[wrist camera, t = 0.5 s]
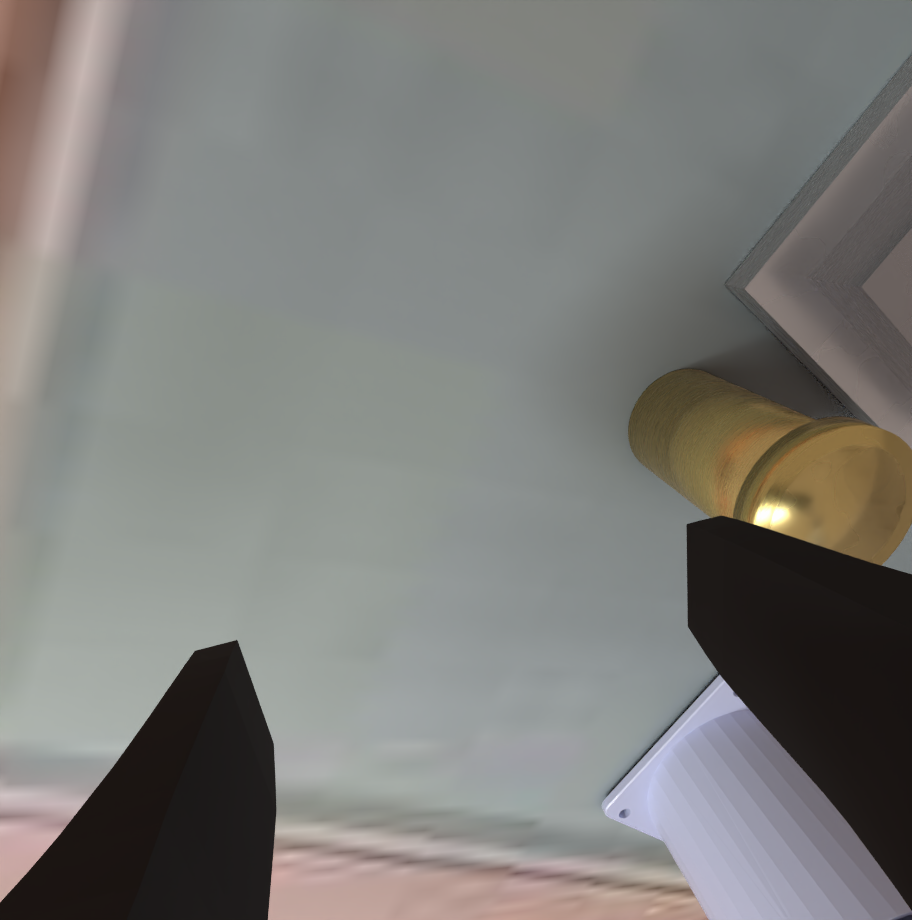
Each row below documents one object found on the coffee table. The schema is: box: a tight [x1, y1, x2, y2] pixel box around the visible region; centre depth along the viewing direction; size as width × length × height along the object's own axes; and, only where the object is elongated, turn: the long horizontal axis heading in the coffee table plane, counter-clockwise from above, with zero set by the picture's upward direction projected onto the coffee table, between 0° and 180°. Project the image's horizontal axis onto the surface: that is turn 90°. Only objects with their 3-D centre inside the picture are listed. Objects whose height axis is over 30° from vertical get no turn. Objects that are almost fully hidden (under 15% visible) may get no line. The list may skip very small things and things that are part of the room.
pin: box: [628, 369, 912, 565], centre depth 18 cm, size 4×4×7 cm
